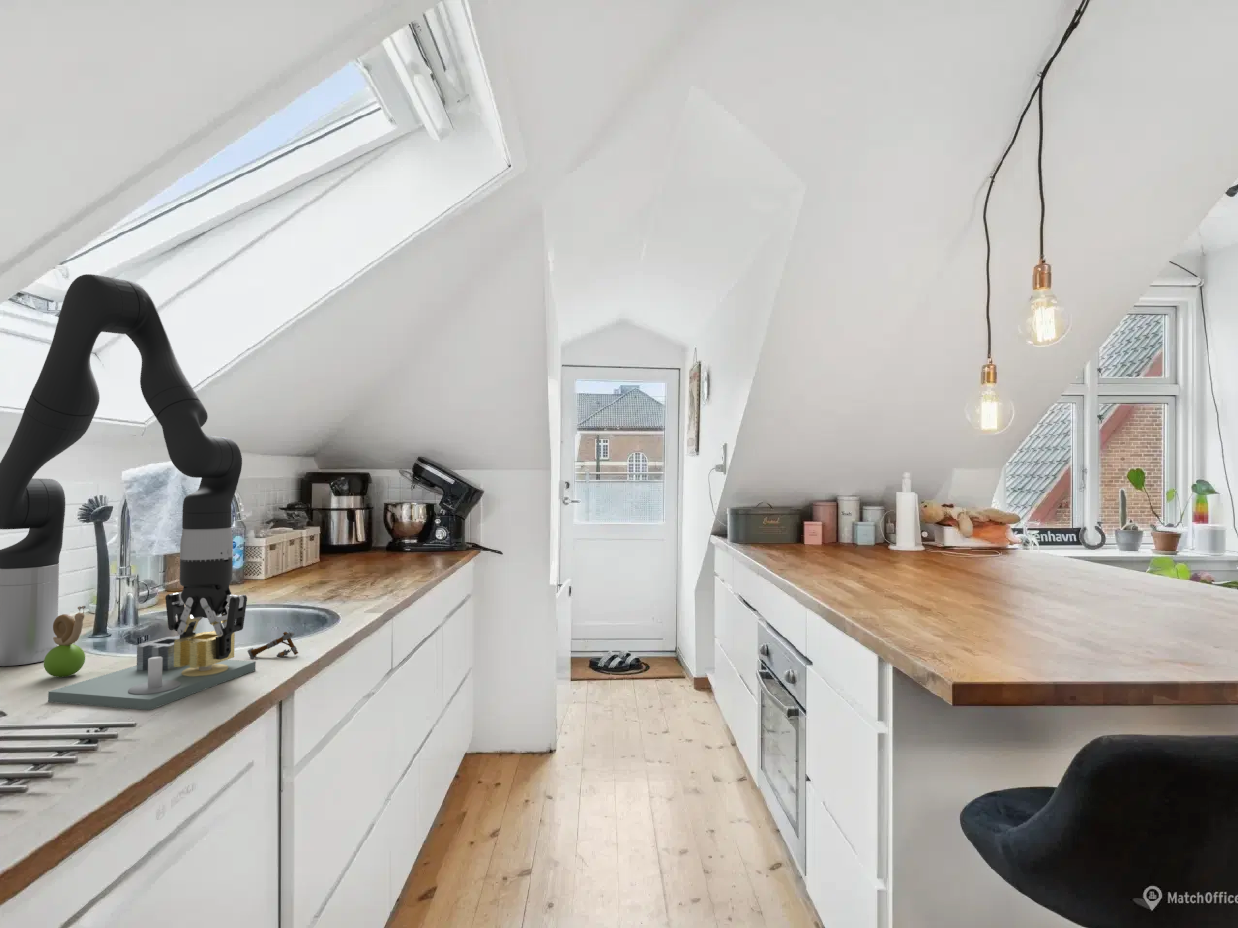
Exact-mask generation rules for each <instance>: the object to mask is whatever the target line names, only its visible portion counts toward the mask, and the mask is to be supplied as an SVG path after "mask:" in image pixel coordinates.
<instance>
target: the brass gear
mask: <svg viewBox="0 0 1238 928" xmlns="http://www.w3.org/2000/svg"><path fill="white" fill-rule="evenodd" d="M235 633H236V632H234V633H233V634H232V635H231V652H230V654H229V656H228V657H227V658H224V659H221V660H218V659H216V637H218V636H217V634H216V632H215V630H211V631H202V632H198V633H196V634H195V635H191V636H187V637H183V638H180V639H176V640H175V641H174V667H182V666H185V665H187V666H190V668H198V667H201V666H202V667H207V666H210V665H213V664H216V663H219V662H222V661H225V660H232V659H233V658H235V641H236V640H235V636H236V635H235Z"/></svg>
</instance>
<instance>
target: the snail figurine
mask: <svg viewBox="0 0 1238 928" xmlns="http://www.w3.org/2000/svg"><path fill="white" fill-rule="evenodd" d="M86 608H87V607H86V605H81V606H80V605H79V606H77V609H78V610H79V612H77V613H76V614H75V615H74V618H73V616H71V615H69V614H64V613H63V614H60V615H58V617H57V618H56V619H55V621H54V623H53V631H54V633H55V635H56V636H57V637H53V640H54V642H55V643H56V644H57V646H56V647H55V648H53V649H52V650H50V651H49V652H48V653H47V655H46V656H45V659H44V661H43V668H44V670H45V672H46V673H47V674H48V675H50V676H52V677H54V678H67V677H70V676H71V677H72V676H73V675H75V674H77V673H78V672H79V671H80V670H82V668H83V666H84V664H85V662H86V653H85V651H84V650H83V649H82V648H81V647H80V646H78V645H77V644H75V643H76V642H77V641H78V640H79V639H80V636H81V634H82V631H83V630H82V629H83V625H84V619H85V617H86V616H85V614H84V613H85V609H86ZM81 610H83V612H81Z"/></svg>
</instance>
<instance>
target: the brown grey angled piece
mask: <svg viewBox="0 0 1238 928" xmlns="http://www.w3.org/2000/svg"><path fill="white" fill-rule="evenodd" d="M282 634H283V635H282V636H281V637H279V638H276V639H274V640H272V641H270V642H268V643H266V644H265V645H262V646H259V647H257V648H254V647H250V648H249V649H248V650H247V653H248V655H249V658H250V660H253V659H255V658H257V655H259V654H260V653H263V652H264V651H266V650H267V649H268V650H269V649H271V648H273V647H275V646H277V645H279V644H280V643H282V644H285V645H286V646H289V648H290V649H283V650H282V651H279V652H278V653H277V654H276V658H282V657H284V656H285V657H287V656H288V654H289V653H290V652H293V654H294V656H295V655H297V654H299V652H298V650H297V649H298V648H297V646H296V645H295V644H294V643H293V640H292V639H291V638H293V636H294V635H295V632H294V631H289V632H287V631H283V633H282ZM286 641H287V642H286Z"/></svg>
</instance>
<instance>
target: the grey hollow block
mask: <svg viewBox="0 0 1238 928" xmlns="http://www.w3.org/2000/svg"><path fill="white" fill-rule="evenodd" d="M176 639H180V635H174V636H165V637H162V638H159V639H154V640H151V641H146V642H143V643H139V644H137V646H136V665H137V671H144V670H148V659H149V658H152V657H163V659H162V671H163V670H164V671H169V670H172V669H175V668H178V667H174V641H175V640H176Z"/></svg>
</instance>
